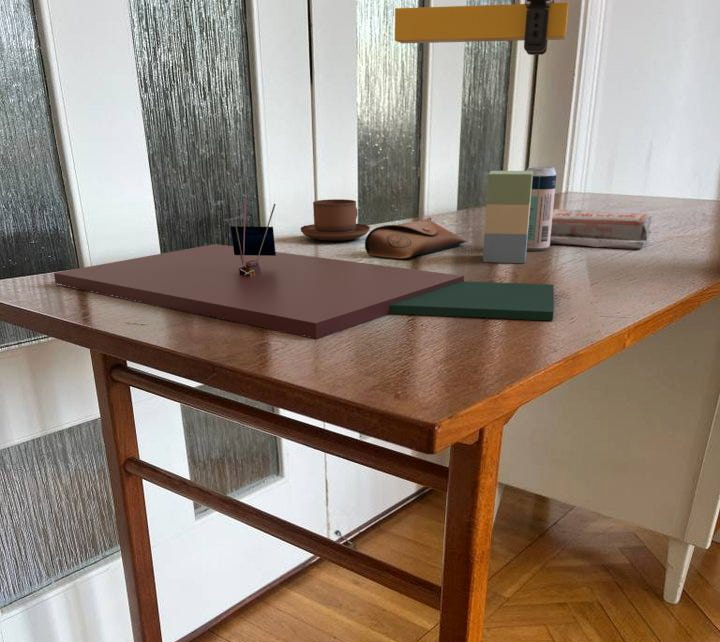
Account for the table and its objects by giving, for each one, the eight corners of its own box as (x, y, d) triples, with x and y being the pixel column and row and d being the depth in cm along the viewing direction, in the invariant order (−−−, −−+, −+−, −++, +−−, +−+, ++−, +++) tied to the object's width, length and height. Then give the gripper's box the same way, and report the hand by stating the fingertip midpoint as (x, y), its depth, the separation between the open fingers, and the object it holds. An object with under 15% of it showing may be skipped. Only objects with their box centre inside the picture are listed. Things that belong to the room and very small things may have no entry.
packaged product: (655, 210, 123) (648, 218, 115) (651, 241, 125) (643, 250, 117) (546, 206, 130) (531, 212, 122) (543, 235, 133) (529, 243, 125)
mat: (552, 292, 91) (553, 284, 91) (552, 321, 79) (553, 311, 79) (375, 286, 96) (375, 278, 95) (349, 312, 84) (349, 303, 83)
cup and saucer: (315, 233, 138) (314, 197, 135) (378, 235, 135) (378, 198, 132) (290, 243, 128) (288, 204, 125) (357, 245, 125) (356, 206, 122)
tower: (526, 256, 114) (533, 170, 109) (524, 263, 109) (532, 174, 103) (486, 255, 115) (491, 170, 110) (482, 262, 110) (488, 173, 105)
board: (55, 284, 99) (40, 202, 94) (215, 254, 119) (209, 185, 114) (316, 338, 74) (312, 230, 69) (463, 288, 94) (467, 201, 89)
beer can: (550, 246, 121) (557, 166, 116) (548, 251, 117) (556, 168, 112) (519, 246, 123) (526, 166, 117) (517, 250, 118) (523, 168, 113)
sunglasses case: (410, 257, 111) (391, 214, 110) (377, 277, 116) (358, 237, 115) (469, 241, 124) (453, 203, 123) (437, 260, 129) (421, 223, 128)
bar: (565, 39, 81) (568, 7, 80) (564, 36, 78) (568, 2, 77) (401, 43, 85) (402, 12, 84) (394, 40, 82) (395, 8, 81)
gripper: (594, -177, 66) (571, 47, 74) (590, -132, 79) (570, 56, 86) (508, -170, 68) (494, 49, 76) (517, -127, 80) (504, 57, 88)
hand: (535, 52), depth 81 cm, fingers closed on bar, 4 cm apart
